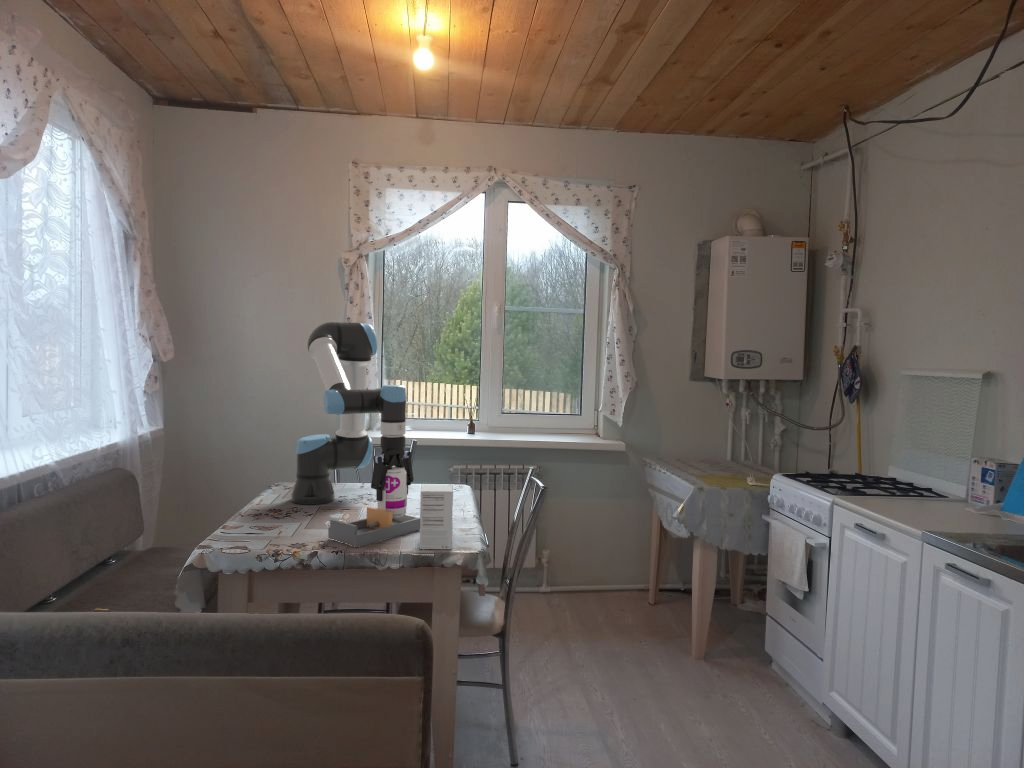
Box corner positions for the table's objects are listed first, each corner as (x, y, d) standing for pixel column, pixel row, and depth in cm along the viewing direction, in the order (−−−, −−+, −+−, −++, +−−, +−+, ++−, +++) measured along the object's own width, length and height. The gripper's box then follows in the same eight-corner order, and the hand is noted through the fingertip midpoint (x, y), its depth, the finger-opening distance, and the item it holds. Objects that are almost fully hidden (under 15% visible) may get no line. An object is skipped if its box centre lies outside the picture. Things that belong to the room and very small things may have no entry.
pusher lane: (328, 539, 199) (328, 519, 199) (394, 521, 220) (394, 503, 220) (356, 547, 192) (356, 526, 191) (421, 528, 212) (422, 510, 212)
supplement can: (400, 519, 206) (400, 470, 205) (374, 518, 208) (375, 469, 207) (409, 513, 214) (410, 466, 213) (385, 511, 215) (385, 464, 214)
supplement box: (420, 540, 201) (421, 483, 200) (452, 540, 202) (453, 483, 200) (419, 550, 191) (420, 490, 190) (452, 550, 192) (453, 490, 191)
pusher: (358, 528, 207) (359, 509, 206) (369, 525, 210) (369, 506, 210) (381, 534, 201) (381, 514, 200) (391, 531, 204) (392, 512, 204)
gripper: (375, 440, 198) (374, 517, 200) (426, 433, 215) (425, 504, 217) (358, 437, 203) (357, 512, 204) (409, 430, 220) (408, 500, 221)
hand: (392, 508), depth 211 cm, fingers closed on supplement can, 8 cm apart
